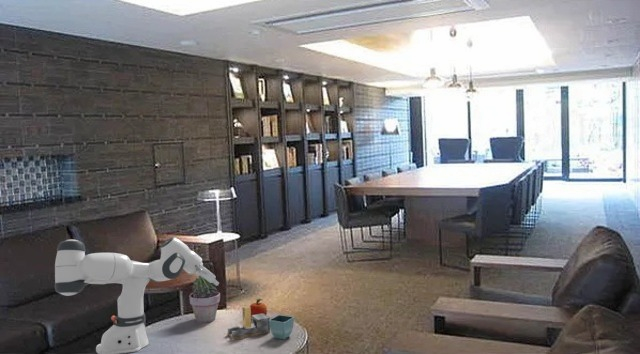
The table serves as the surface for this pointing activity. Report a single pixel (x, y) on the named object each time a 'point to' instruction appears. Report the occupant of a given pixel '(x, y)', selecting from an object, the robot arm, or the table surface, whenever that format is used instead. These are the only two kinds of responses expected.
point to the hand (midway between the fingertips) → (214, 282)
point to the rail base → (261, 328)
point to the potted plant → (204, 300)
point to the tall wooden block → (247, 319)
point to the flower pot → (281, 326)
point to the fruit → (258, 308)
